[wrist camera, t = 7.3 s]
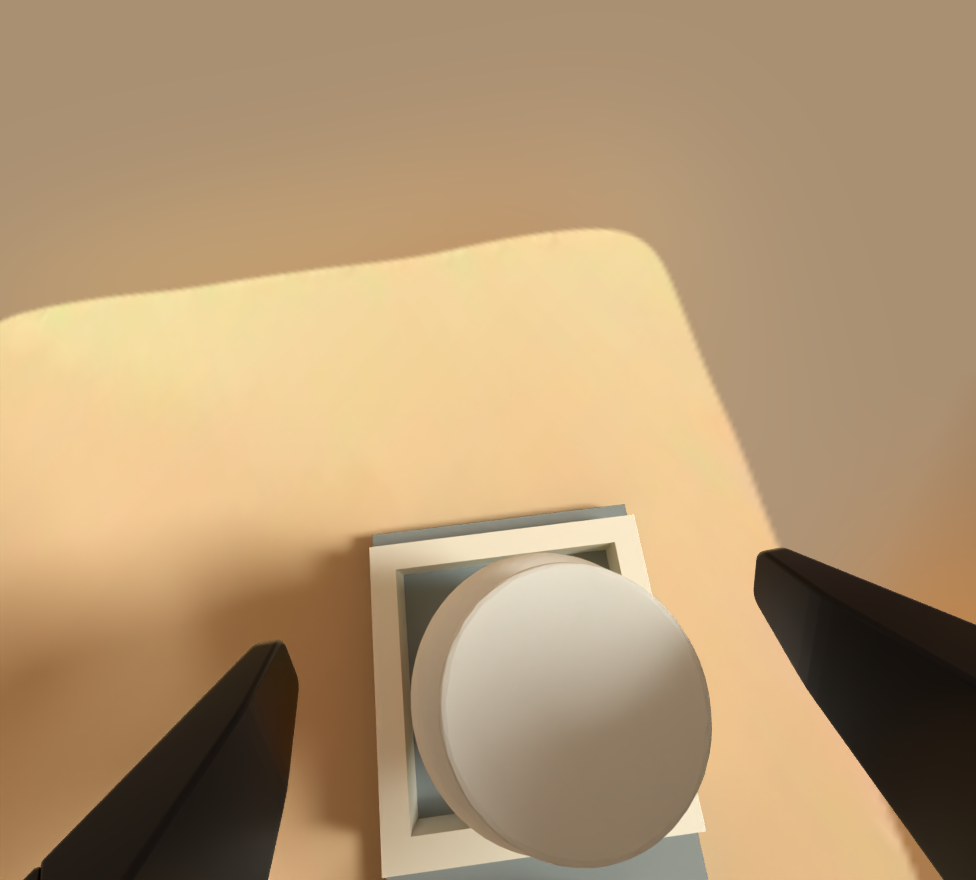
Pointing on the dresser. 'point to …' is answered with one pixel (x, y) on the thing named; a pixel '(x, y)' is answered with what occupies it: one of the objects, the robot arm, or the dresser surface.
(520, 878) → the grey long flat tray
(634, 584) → the supplement bottle
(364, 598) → the dresser surface
